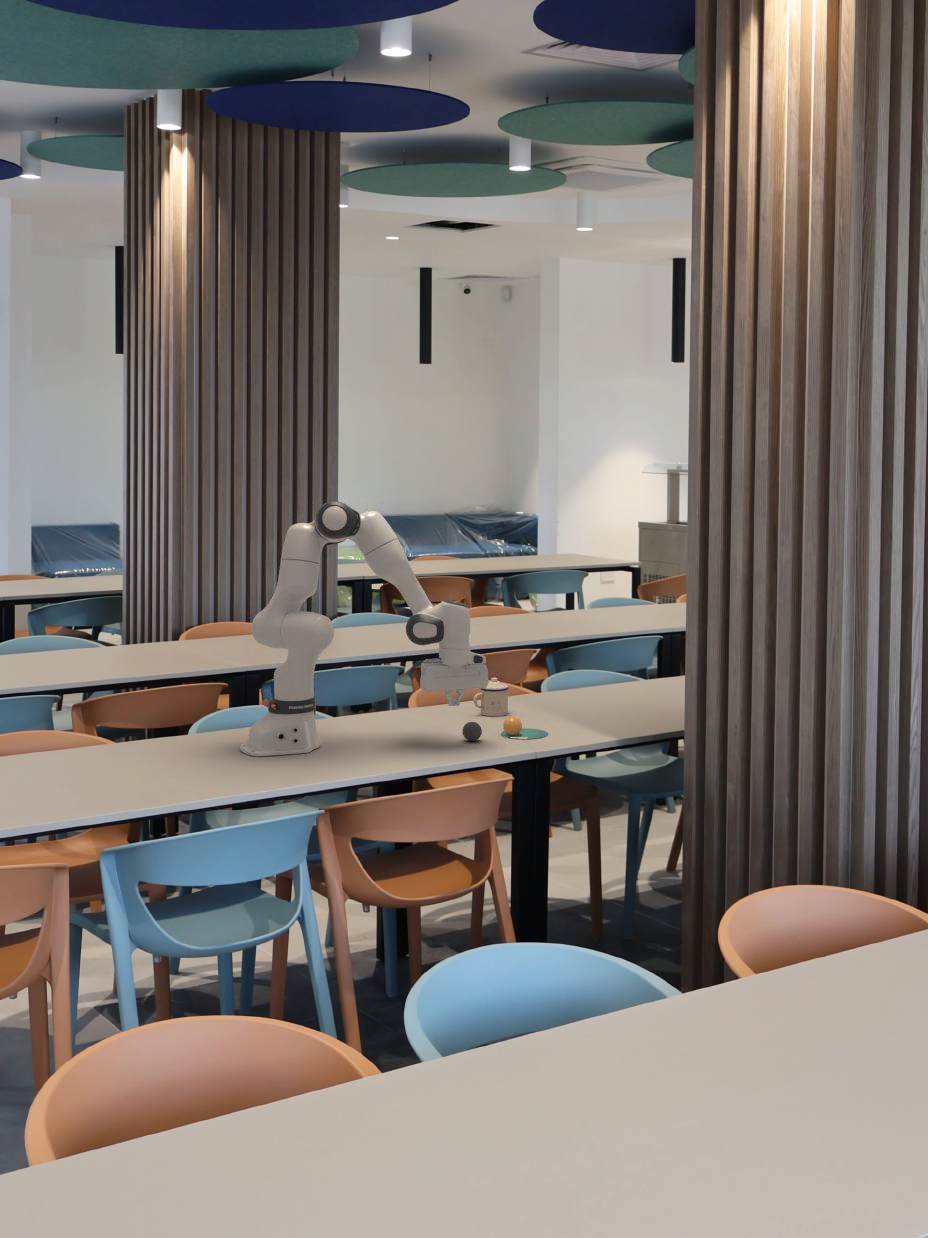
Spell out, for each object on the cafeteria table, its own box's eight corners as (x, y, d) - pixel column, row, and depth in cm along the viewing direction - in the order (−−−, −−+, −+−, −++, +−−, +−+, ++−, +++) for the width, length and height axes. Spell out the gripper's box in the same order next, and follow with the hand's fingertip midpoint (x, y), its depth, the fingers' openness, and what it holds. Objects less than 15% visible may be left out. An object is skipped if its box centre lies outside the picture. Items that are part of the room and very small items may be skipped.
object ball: (522, 715, 372) (527, 733, 374) (513, 712, 377) (518, 729, 379) (507, 723, 370) (512, 740, 371) (497, 719, 375) (502, 736, 376)
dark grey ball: (481, 720, 366) (487, 738, 367) (473, 716, 371) (478, 733, 372) (465, 729, 364) (471, 746, 365) (456, 724, 369) (462, 742, 370)
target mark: (515, 741, 367) (515, 740, 367) (492, 732, 379) (492, 731, 379) (557, 736, 374) (557, 735, 374) (532, 727, 386) (532, 726, 386)
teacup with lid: (499, 710, 412) (499, 674, 410) (513, 715, 404) (513, 678, 403) (467, 714, 406) (466, 678, 405) (481, 719, 398) (480, 682, 397)
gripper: (425, 660, 354) (425, 709, 355) (491, 657, 363) (490, 705, 364) (416, 657, 360) (416, 706, 361) (481, 654, 369) (480, 701, 370)
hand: (454, 705), depth 363 cm, fingers closed
